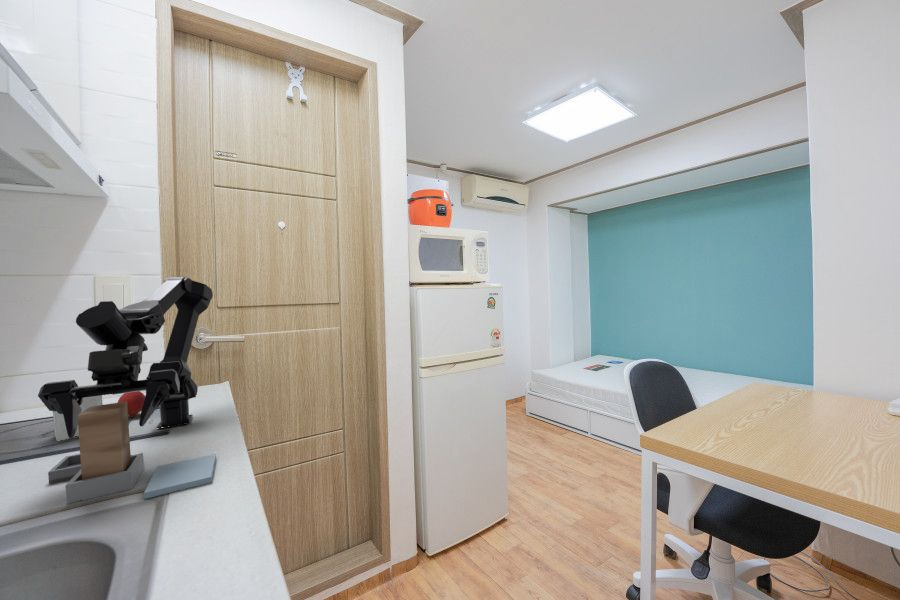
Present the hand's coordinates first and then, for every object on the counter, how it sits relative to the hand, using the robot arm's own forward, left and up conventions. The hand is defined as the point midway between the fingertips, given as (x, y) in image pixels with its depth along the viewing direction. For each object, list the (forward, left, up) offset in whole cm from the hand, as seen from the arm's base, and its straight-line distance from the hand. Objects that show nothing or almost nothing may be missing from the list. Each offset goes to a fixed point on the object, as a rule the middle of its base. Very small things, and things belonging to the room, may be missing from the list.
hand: (107, 430), depth 62 cm
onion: (-42, -6, -9) cm, 43 cm away
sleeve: (+1, 0, -9) cm, 9 cm away
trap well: (-9, -6, -9) cm, 14 cm away
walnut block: (+1, 0, -9) cm, 9 cm away
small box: (-34, -14, -9) cm, 38 cm away
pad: (+5, +11, -9) cm, 15 cm away
